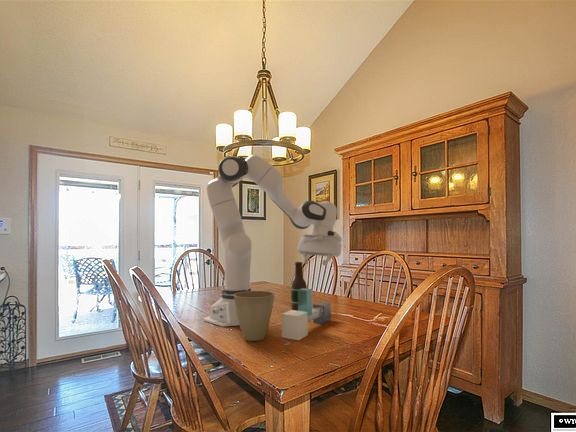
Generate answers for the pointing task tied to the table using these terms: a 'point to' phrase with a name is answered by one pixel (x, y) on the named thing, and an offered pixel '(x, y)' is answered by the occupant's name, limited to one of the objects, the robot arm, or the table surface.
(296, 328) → the socket block
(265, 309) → the plant pot
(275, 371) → the table surface
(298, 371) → the table surface
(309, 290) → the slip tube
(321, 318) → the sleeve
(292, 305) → the beer bottle
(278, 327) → the table surface
